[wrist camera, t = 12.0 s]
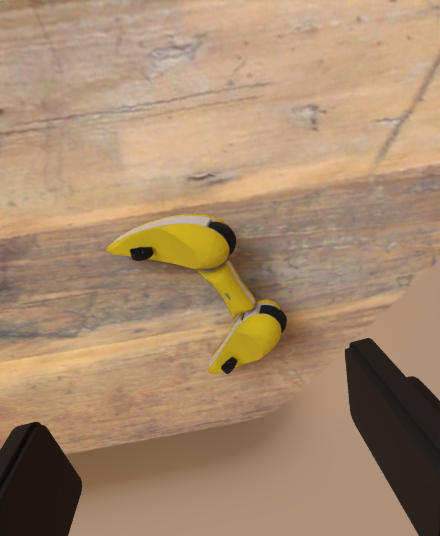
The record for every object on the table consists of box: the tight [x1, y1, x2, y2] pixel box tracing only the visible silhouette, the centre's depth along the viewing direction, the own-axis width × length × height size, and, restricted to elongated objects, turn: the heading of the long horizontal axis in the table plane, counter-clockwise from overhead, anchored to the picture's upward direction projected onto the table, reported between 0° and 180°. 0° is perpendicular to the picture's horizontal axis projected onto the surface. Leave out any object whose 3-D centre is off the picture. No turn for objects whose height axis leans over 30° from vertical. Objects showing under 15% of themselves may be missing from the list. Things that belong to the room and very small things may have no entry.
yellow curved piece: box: [107, 214, 287, 374], centre depth 17 cm, size 10×6×4 cm, turn 32°
